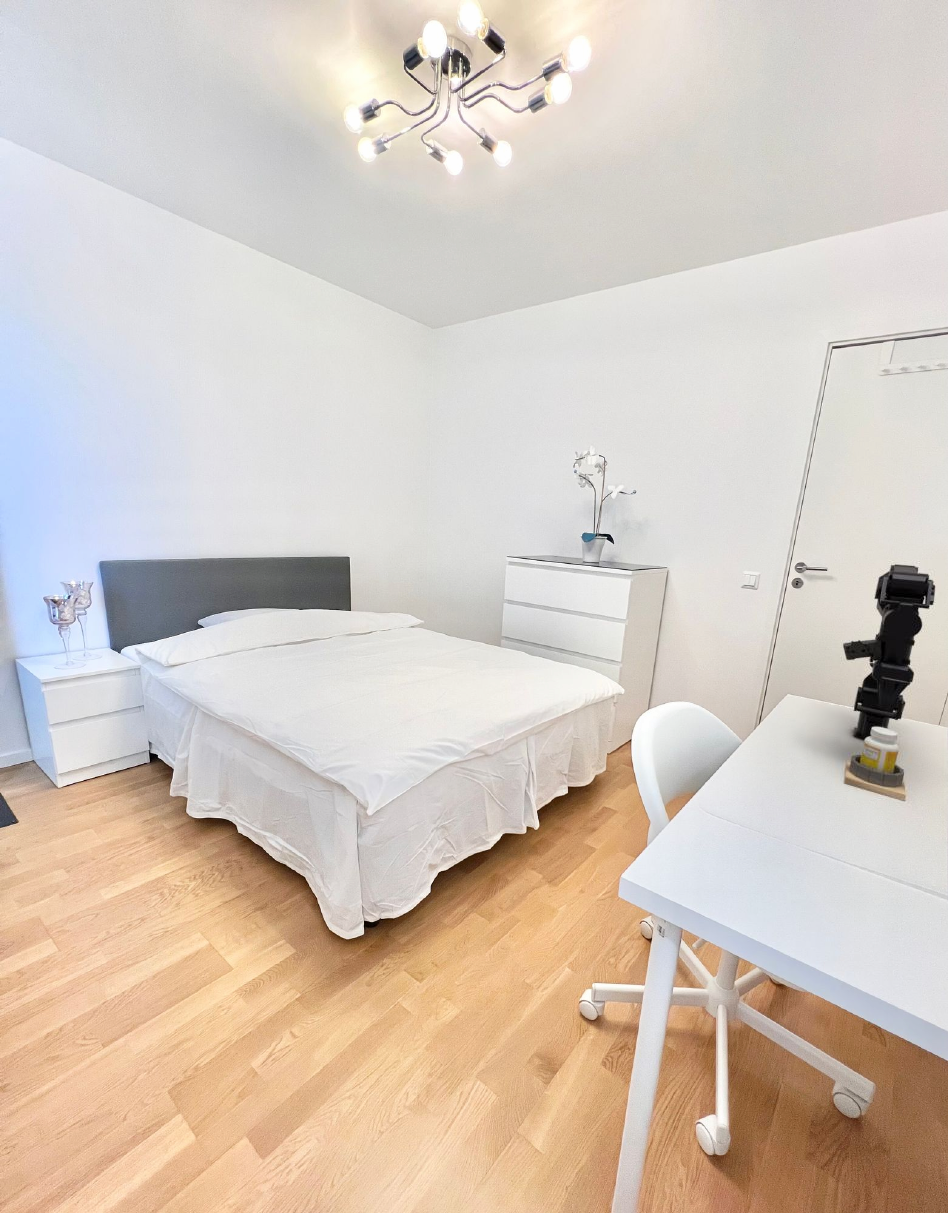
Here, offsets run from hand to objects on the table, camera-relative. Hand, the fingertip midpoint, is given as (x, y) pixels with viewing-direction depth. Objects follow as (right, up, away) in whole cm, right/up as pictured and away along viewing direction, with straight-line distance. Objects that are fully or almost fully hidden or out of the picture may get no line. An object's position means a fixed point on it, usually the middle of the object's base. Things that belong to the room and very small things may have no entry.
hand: (882, 703), depth 109 cm
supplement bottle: (-7, -13, -7) cm, 17 cm away
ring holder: (-8, -14, -7) cm, 18 cm away
